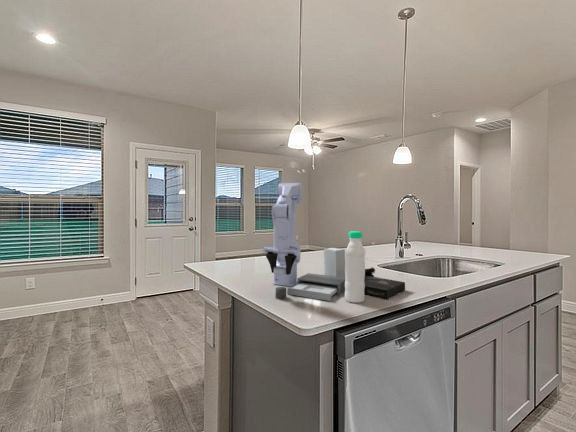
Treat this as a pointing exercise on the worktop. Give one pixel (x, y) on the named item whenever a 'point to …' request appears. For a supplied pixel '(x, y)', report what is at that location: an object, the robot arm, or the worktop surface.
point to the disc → (280, 270)
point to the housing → (324, 281)
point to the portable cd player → (382, 287)
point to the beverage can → (369, 272)
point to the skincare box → (334, 262)
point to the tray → (313, 291)
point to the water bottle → (355, 269)
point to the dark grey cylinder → (280, 293)
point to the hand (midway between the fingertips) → (281, 273)
